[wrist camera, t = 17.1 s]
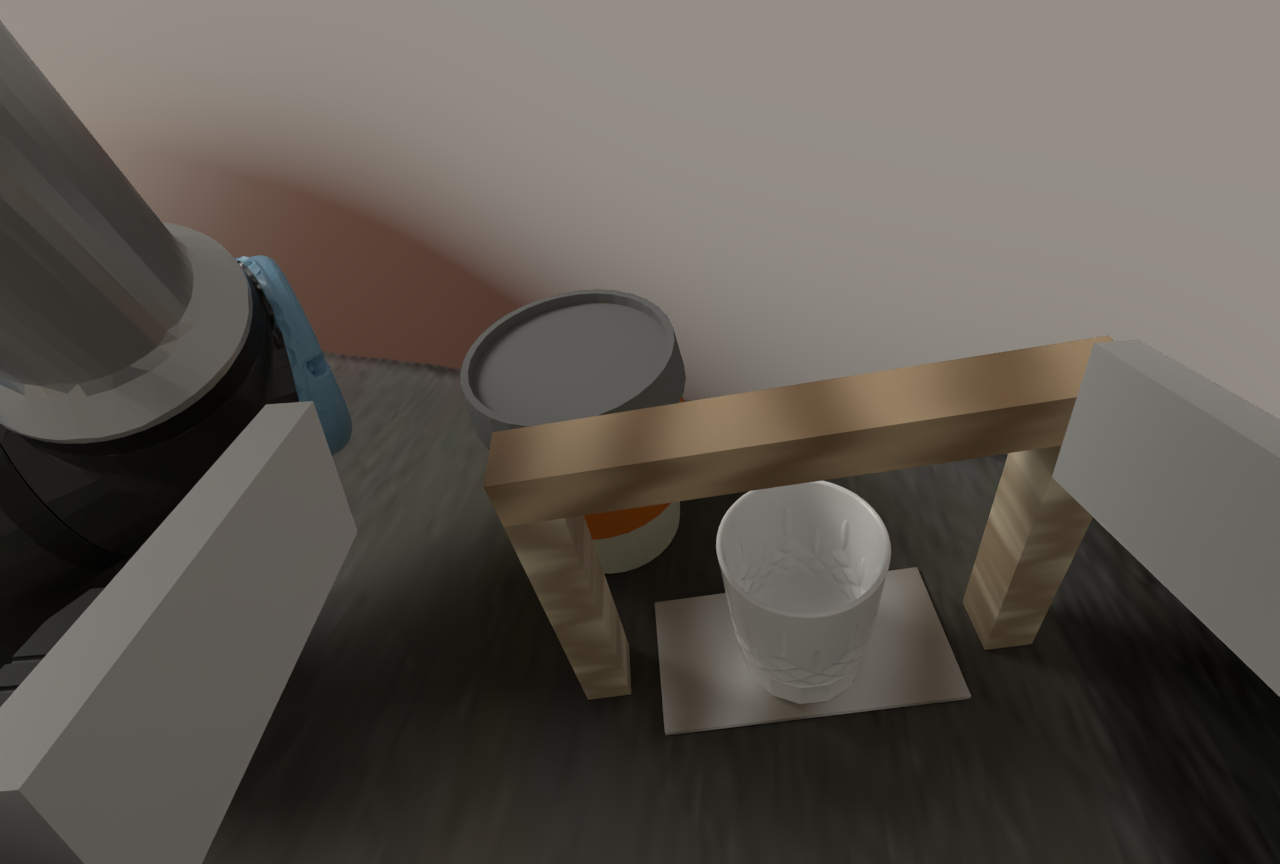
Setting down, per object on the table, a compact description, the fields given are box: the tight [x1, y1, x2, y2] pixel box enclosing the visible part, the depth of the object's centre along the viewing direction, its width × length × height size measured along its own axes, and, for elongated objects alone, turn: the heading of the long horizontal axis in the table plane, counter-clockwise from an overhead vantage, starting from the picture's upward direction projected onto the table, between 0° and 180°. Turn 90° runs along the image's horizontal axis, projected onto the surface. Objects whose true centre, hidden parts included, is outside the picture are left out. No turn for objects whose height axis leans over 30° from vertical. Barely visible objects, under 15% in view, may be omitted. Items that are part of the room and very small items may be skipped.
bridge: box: [484, 336, 1114, 735], centre depth 32 cm, size 24×8×18 cm, turn 93°
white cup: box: [716, 481, 891, 704], centre depth 35 cm, size 8×8×10 cm
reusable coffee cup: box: [460, 290, 686, 574], centre depth 42 cm, size 13×12×15 cm
